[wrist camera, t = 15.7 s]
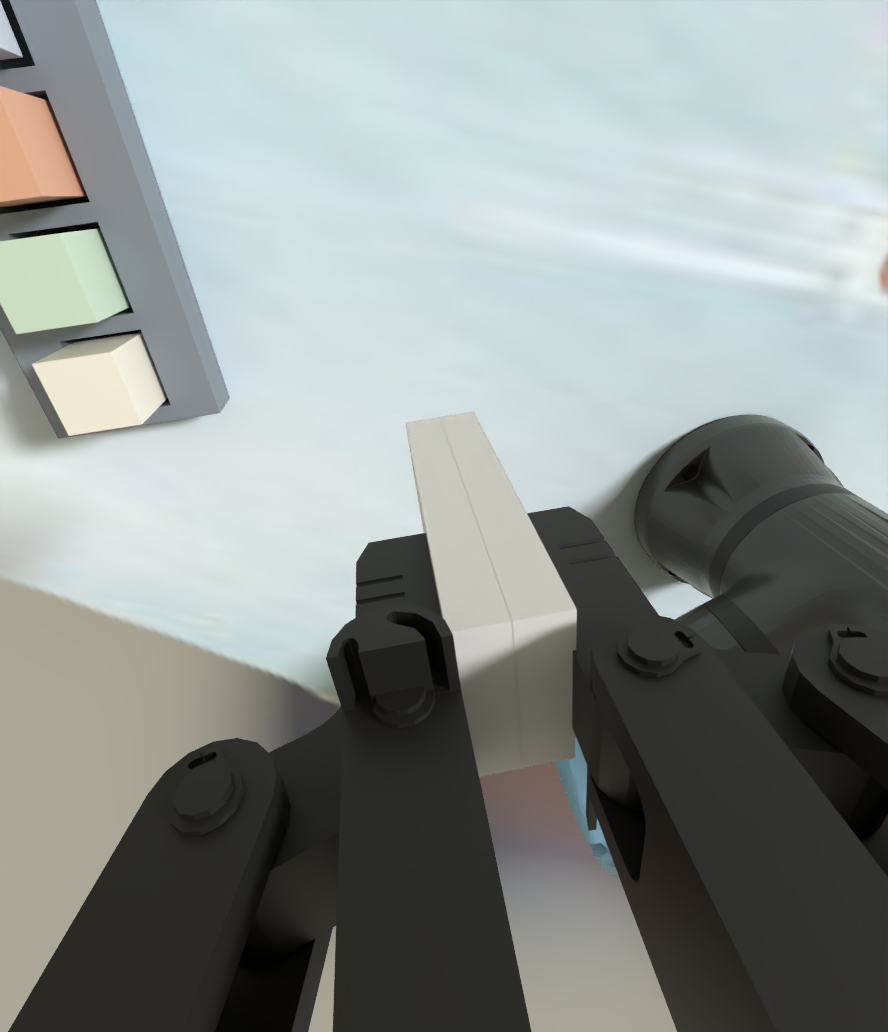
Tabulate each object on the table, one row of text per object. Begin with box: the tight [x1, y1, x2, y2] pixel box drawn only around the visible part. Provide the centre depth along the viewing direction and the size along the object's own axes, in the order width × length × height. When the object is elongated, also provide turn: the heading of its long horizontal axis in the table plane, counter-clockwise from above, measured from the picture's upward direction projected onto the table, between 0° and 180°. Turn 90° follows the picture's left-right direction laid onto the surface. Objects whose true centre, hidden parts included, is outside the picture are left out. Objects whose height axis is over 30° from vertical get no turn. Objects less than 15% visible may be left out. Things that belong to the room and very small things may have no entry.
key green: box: [0, 228, 131, 334], centre depth 28 cm, size 4×4×5 cm
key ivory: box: [32, 332, 168, 436], centre depth 31 cm, size 4×4×5 cm
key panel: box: [0, 0, 229, 438], centre depth 29 cm, size 23×10×3 cm, turn 7°
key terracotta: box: [0, 86, 88, 207], centre depth 25 cm, size 4×4×5 cm
